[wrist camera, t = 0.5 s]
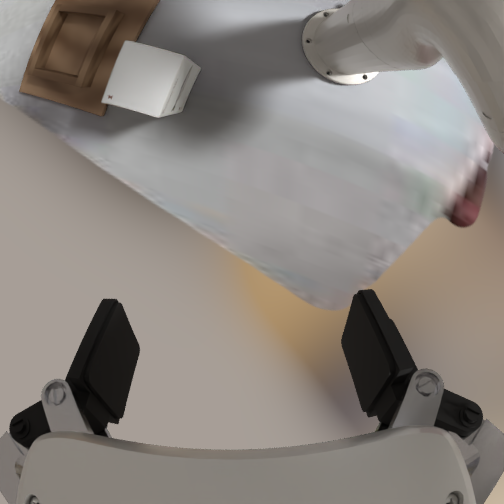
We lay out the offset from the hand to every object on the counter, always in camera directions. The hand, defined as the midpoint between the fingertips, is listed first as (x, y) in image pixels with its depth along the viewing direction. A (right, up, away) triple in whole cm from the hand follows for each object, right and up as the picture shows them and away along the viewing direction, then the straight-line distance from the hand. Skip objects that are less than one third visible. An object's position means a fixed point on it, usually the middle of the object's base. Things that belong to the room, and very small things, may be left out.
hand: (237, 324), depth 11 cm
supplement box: (-11, +27, +22) cm, 36 cm away
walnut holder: (-26, +35, +16) cm, 46 cm away
